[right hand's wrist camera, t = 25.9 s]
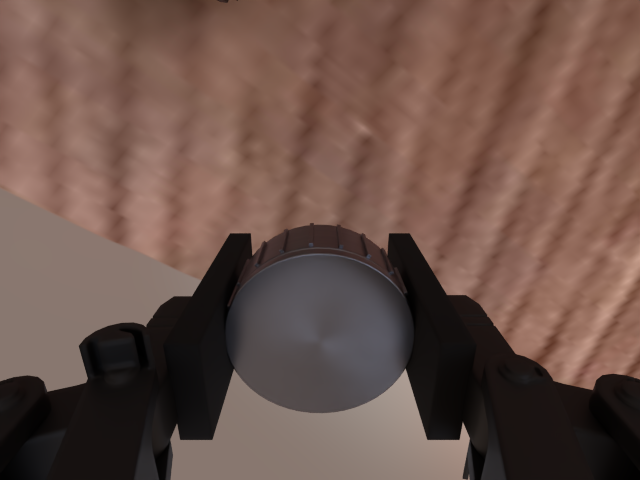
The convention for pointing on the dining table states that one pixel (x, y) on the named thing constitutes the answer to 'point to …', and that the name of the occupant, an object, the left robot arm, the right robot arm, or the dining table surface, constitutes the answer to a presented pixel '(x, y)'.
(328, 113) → the dining table surface
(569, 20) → the dining table surface
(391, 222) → the dining table surface
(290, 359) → the lid
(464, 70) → the dining table surface
